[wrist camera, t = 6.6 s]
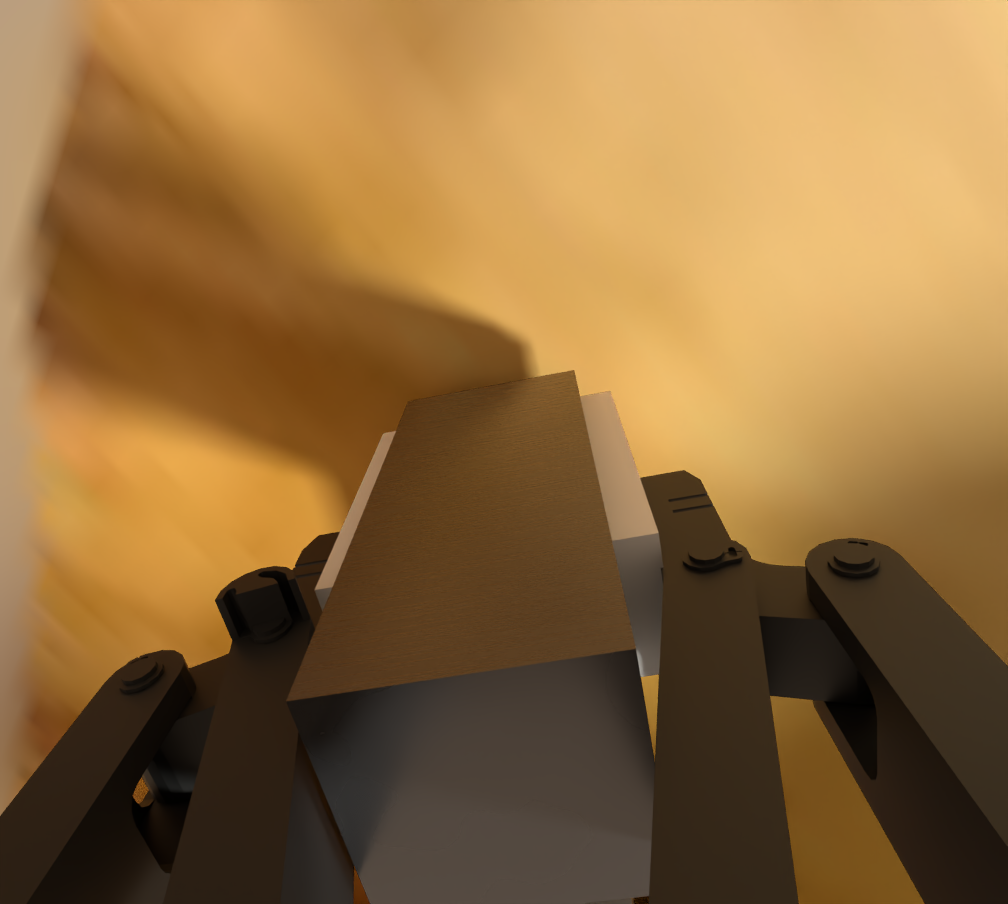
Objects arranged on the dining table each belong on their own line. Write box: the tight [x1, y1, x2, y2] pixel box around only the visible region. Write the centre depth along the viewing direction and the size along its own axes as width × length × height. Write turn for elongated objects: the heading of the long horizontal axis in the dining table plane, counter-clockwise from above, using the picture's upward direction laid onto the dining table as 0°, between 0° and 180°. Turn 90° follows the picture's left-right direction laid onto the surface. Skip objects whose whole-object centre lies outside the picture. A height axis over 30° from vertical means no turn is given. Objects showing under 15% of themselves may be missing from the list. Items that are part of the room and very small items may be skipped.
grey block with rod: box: [286, 370, 655, 904], centre depth 16 cm, size 8×17×10 cm, turn 12°
